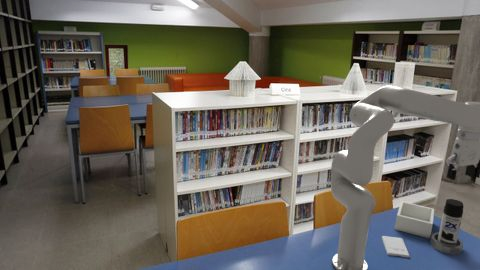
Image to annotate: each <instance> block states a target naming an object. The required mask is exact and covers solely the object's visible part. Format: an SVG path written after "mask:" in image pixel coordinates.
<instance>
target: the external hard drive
mask: <svg viewBox="0 0 480 270" xmlns="http://www.w3.org/2000/svg"><path fill="white" fill-rule="evenodd" d="M381 240H382V242H383V246H384V249H385V251H386V255H387V256H393V257H394V256H395V257H400V258H409V259H410V257H411V256H410V254H409V253H410V252H409V251H408V249H407V246H406V244H405V242H404V239H403V238H402V237H396V236H395V237H394V236H389V235H388V236H387V235H382V236H381Z"/></svg>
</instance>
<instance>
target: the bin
mask: <svg viewBox="0 0 480 270" xmlns="http://www.w3.org/2000/svg"><path fill="white" fill-rule="evenodd" d="M434 213H435V208H432V207H429V206H423V205H420V204H415V203H410V202H406V201H403V200H401V201H400V204H399V208H398V210H397V215H396V218H395V219H396V220H395V223H394V224H395V225H394V230H396V231H400V232H404V233H407V234H411V235H416V236H418V237H422V238H426V239H430V240H431V236H432V230H433V224H434V215H435V214H434Z"/></svg>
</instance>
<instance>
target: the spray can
mask: <svg viewBox="0 0 480 270" xmlns="http://www.w3.org/2000/svg"><path fill="white" fill-rule="evenodd" d="M463 214H464V203H463V202H462V200H457V199H453V198H447V199H446V201H445V205H444V207H443V212H442V217H441V222H440V226H439V230H438V233H439V236H438V240H437V241H438V242H439V243H441V244H443V245H447V246H450V247H457V246H456V243H457V238H459V233H460V229H461V228H460V227H461V224H462V219H463Z"/></svg>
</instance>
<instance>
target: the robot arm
mask: <svg viewBox="0 0 480 270" xmlns="http://www.w3.org/2000/svg"><path fill="white" fill-rule="evenodd" d="M392 112H393V113H395V114H396V113H397V114H400V115H405V116H411V117H416V118H421V119H425V120H430V121H434V122H440V123H445V124H451V125H455V126H456V125H457V126H458V128H457V132H456V133H457V134H456V137H455V140H454V142H453V146H452V149H451V154H450V156H448V157H447V158H446V159H445V162H446V167H447V174H446V178H447V179H450V180H451V181H456V177H457V173H458V170H457V169H458V168H459V167H466V169H465V173H464V175H465V176H467V177H470V178H474V177H475V173H476V172H475V171H476V168H477V167H478V165H479V163H480V102H479V101H466V102H464V101H463V102H462V101H455V100H453V99H448V98H446V97H443V96H438V95H435V94H431V93H426V92H422V91H417V90H412V89H409V88H405V87H400V86H395V85H389V84H388V85H385V86H382V87H379V88H378V89H376V90H374V91H373V92H371V93H370V94H368V95H367V96H365V97H364V98H362V99H360V100H359V101H358V102H356V103H355V104H354V105H353V106H352V107H351V109H350V112H349V119H350V121H351V123H352V124H353V125H355V126H357V127H358V128H357V129H356V130H355V131H354V132H353V134H351V136H350V138H349V140H348V143H347V149H343V150H340V151H338V152H337V153H336V154H335V156H334V157H333V158H332V162H331V165H330V166H331V171H330V190H331V191H330V192H331V195H332V197H333V198H334V199H335V200H336V201H337V202H338V203H340V204H342V206H343V207H345V209H346V212H345V213H344V214H343V216H342V217H341V221H340V229H339V237H338V245H337V253H336V254H335V255H334V256H333V257H332V260H331V261H332V262H331V263H332V266H333V267H334V268H335V270H368V263H367V262H366V260H365V255H366V248H367V243H368V234H369V229H370V222H371V217H372V216H373V212H374V209H375V207H376V199H375V196H374V195H373V193H372V192H371V191H370V190H369V189H367V188H366V187H364V186H367V185H368V184H370V182H371V181H372V179H373V173H374V159H375V149H376V145H377V143H378V142H379V140H380V139H381V138H382V137H384V136H385V135H386V134H387V133H388V132H390V130H391V129H392V128H393V126H394V124H395V116H394V114H393V113H392Z"/></svg>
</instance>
